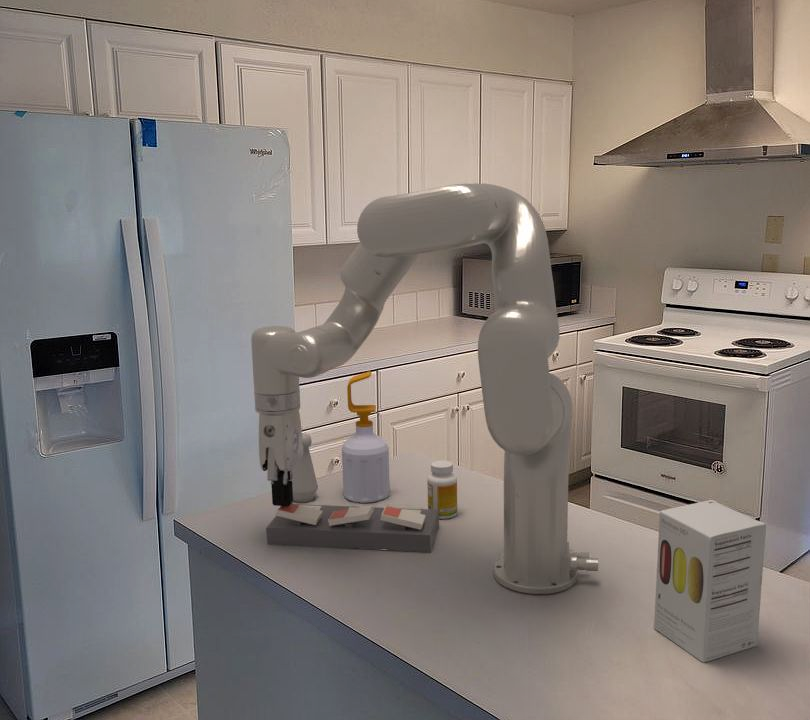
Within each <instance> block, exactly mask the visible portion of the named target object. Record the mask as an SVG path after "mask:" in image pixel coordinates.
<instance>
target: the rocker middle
mask: <svg viewBox="0 0 810 720" xmlns="http://www.w3.org/2000/svg"><path fill="white" fill-rule="evenodd" d="M356 507H357V508H351V509H345V510H339V511H334V512H333V513H332V515H331V516H330V518H329V519H328V523H329V526H332V525H338V524H344V523H350V522H356V521H362V520H369V518H370V516H371V515H372V513H373V511H374V510H373V507H374V506H373V504H370V505H364V506H356Z"/></svg>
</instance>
